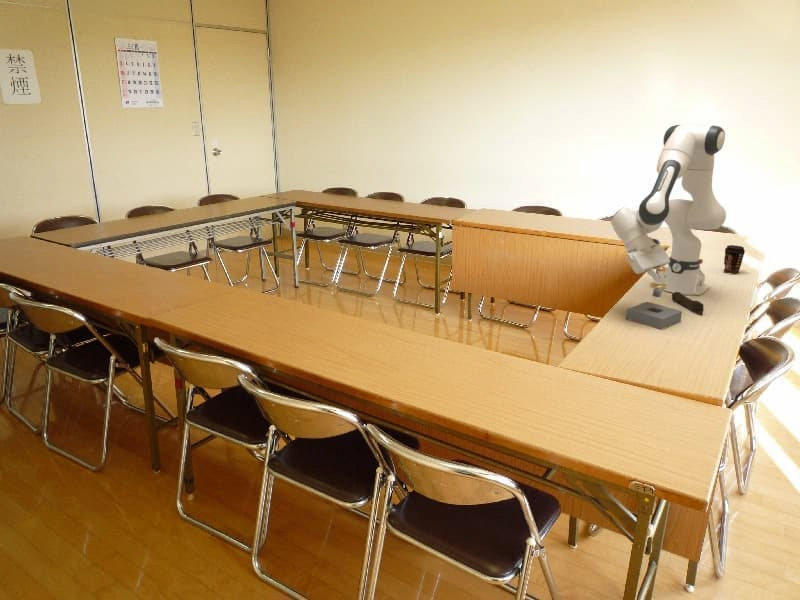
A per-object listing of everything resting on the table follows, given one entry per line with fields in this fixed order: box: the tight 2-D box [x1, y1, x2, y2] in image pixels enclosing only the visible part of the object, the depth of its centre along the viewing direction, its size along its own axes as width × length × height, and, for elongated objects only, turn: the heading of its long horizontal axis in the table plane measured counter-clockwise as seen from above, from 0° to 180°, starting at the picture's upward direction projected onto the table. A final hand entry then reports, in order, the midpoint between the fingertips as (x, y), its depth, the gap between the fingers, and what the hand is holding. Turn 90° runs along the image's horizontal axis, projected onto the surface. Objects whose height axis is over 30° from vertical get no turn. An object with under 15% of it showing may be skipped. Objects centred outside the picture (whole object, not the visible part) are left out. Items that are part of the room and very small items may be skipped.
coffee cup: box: [723, 244, 745, 275], centre depth 282 cm, size 9×8×13 cm
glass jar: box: [649, 266, 667, 298], centre depth 215 cm, size 6×6×11 cm
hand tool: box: [671, 292, 705, 316], centre depth 234 cm, size 19×4×5 cm, turn 3°
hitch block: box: [625, 301, 683, 330], centre depth 219 cm, size 14×14×4 cm
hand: (661, 278), depth 214 cm, fingers closed on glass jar, 3 cm apart
